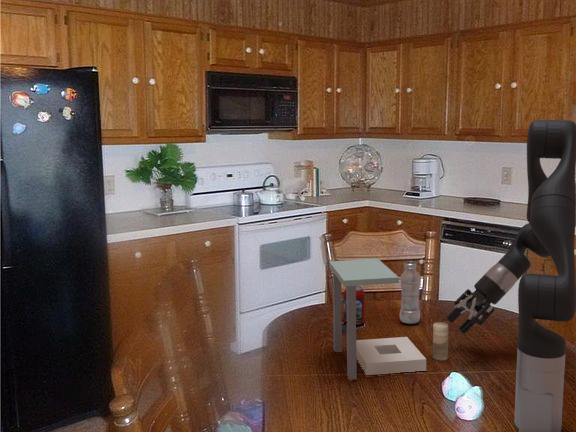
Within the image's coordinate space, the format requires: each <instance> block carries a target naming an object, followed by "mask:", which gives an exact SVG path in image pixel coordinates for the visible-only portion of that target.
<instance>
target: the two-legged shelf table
mask: <svg viewBox="0 0 576 432" xmlns="http://www.w3.org/2000/svg"><path fill="white" fill-rule="evenodd" d="M328 267H329V268H330V270H331V271H332V303H333V304H332V312H333V313H332V315H333V316H332V318H333V319H332V321H333V325H332V327H333V352H334V351H335V352H342V353H343V320H342V319H343V318H342V317H343V313H342V312H343V311H342V309H343V308H342V307H343V306H342V305H343V304H342V286H343V287H345V289H346V309H347V323H346V370H347V371H346V377H347V376H348V378H347V380H348V379H358V378H357V370H358V369H357V363H358V361H357V359H356V340H357V326H356V286H373V285H375V286H377V285H389V284H390V285H392V284H400V276H398V274H396V273H395V272H394V271H393V270H392V269H390V267H388V266H387V265H386V264H384V262H383V261H381V260H380V259H379V258H367V259H349V260H330V261H328ZM335 352H334V353H335Z"/></svg>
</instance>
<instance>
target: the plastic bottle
mask: <svg viewBox="0 0 576 432" xmlns="http://www.w3.org/2000/svg"><path fill="white" fill-rule="evenodd" d="M417 269H418V267H417V262H416V261H412V260H411V261H404V270H403V272H402V273H401V275H400V277H399V284H400V289H401V290H400V291H401V305H400V309H399V320H400V322H401V323H403V324H408V325H412V324H414V325H415V324H418V323H419V321H420V319H421V309H420V302H419V301H420V298H419V295H420V287H421V283H422V281H421V280H422V277H421V275H420V273H419V272H418V271H417Z"/></svg>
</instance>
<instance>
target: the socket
mask: <svg viewBox="0 0 576 432" xmlns="http://www.w3.org/2000/svg"><path fill="white" fill-rule="evenodd" d="M356 358H357V359H356V361H357V360H358V361H357V363H358V362H359V363H360V365H361V366H360V365H359V366H360V368H361V367H362V368H361V370H362V369H363V370H364V372H365V373H364V372H363V373H364V375H365V374H366V375H371V374H372V375H373V374H388V373H400V372H415V371H426V372H427V358H426V357H425V356H424V355H423V354H422V353H421V351H420V350H419V349H418V348H417V347H416V346H415V344H414V343H413V342H412V341H411V340H410V339H409V337H408V336H400V337H399V336H398V337H386V338H385V337H384V338H371V339H369V338H368V339H356ZM359 363H358V364H359ZM363 370H362V371H363ZM366 375H365V376H366Z"/></svg>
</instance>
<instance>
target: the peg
mask: <svg viewBox="0 0 576 432" xmlns="http://www.w3.org/2000/svg"><path fill="white" fill-rule="evenodd" d="M432 325H433V327H432V328H433V329H432V331H433V332H432V358H433V359H434V360H437V361H446V360H448V358H449V323H447V322H443V321H437V322H436V321H435V322H434V323H433V324H432Z"/></svg>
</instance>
